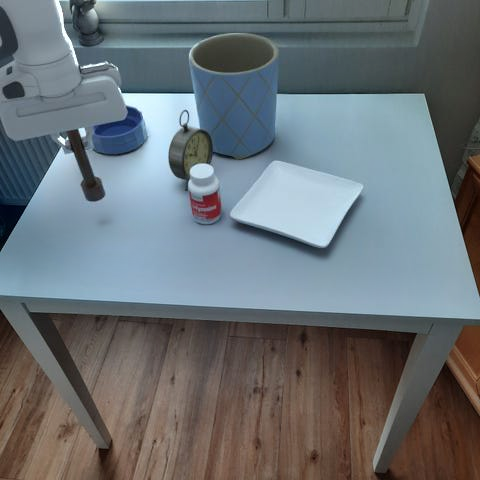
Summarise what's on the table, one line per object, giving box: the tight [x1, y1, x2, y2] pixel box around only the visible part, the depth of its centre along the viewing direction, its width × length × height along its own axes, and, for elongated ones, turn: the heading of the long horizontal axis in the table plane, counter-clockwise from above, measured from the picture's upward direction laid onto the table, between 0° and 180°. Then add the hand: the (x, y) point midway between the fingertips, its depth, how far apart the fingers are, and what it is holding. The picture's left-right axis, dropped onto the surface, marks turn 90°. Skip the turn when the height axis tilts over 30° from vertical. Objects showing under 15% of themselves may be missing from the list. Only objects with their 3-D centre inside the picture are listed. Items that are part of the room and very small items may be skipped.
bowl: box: [84, 104, 148, 155], centre depth 115 cm, size 14×14×5 cm
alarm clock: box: [167, 109, 214, 192], centre depth 99 cm, size 11×5×16 cm, turn 148°
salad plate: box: [229, 160, 364, 249], centre depth 96 cm, size 21×21×3 cm
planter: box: [188, 32, 280, 160], centre depth 107 cm, size 19×19×20 cm
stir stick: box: [65, 129, 106, 203], centre depth 85 cm, size 4×4×18 cm
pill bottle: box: [188, 164, 223, 225], centre depth 94 cm, size 6×6×11 cm
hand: (78, 149), depth 85 cm, fingers closed on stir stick, 2 cm apart
